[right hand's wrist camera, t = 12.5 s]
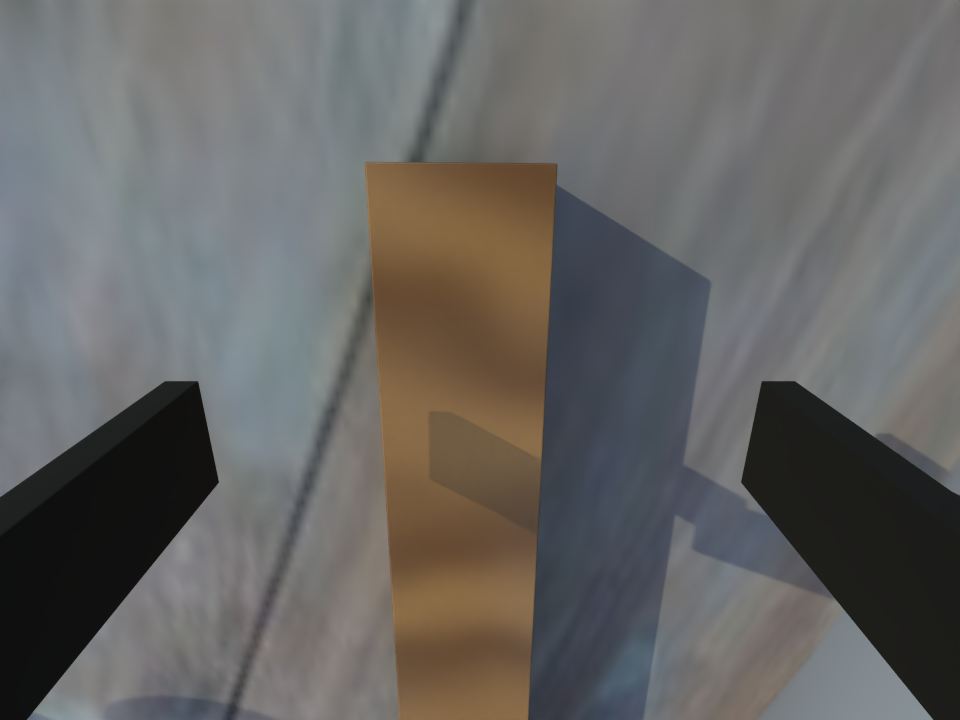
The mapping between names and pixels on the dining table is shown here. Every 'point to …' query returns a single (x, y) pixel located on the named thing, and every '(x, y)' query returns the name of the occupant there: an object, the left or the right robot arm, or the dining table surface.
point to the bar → (462, 422)
